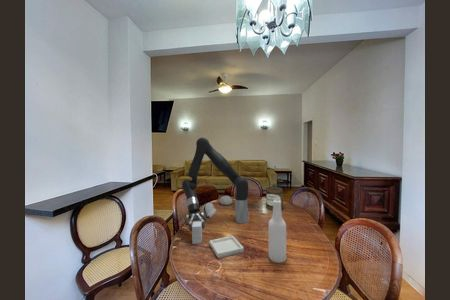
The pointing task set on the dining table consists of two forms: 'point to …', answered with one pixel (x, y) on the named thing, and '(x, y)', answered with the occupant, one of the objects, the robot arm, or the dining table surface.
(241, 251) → the tray
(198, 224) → the small box
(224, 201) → the sea urchin shell
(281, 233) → the alcohol
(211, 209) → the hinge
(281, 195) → the clear glass jar
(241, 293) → the dining table surface
